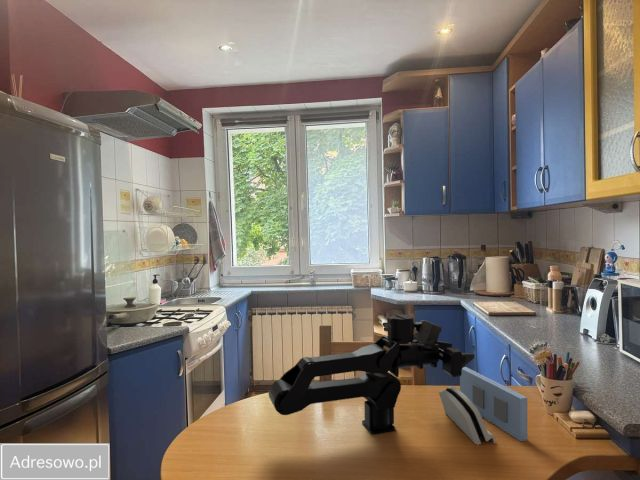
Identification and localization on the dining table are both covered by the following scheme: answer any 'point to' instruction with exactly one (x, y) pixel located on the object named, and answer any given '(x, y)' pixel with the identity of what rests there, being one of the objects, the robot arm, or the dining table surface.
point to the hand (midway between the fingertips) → (462, 350)
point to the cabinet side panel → (496, 403)
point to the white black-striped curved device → (465, 415)
